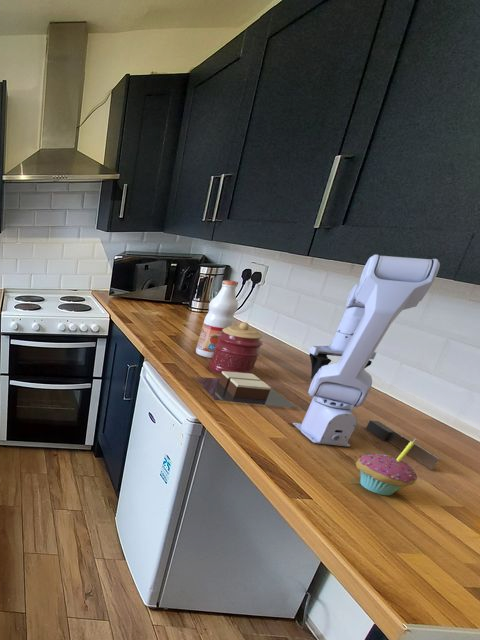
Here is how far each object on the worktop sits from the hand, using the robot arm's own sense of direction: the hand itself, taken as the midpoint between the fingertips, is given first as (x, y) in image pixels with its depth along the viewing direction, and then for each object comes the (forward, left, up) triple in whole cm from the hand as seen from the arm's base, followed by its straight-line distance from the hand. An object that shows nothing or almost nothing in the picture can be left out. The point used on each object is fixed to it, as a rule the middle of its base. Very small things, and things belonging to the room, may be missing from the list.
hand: (329, 381), depth 109 cm
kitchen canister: (+26, +12, -9) cm, 30 cm away
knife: (-18, -8, -9) cm, 21 cm away
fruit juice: (+44, +12, -9) cm, 47 cm away
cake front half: (+5, +16, -9) cm, 19 cm away
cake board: (+8, +16, -9) cm, 21 cm away
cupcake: (-37, +10, -9) cm, 39 cm away
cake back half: (+11, +16, -9) cm, 22 cm away
